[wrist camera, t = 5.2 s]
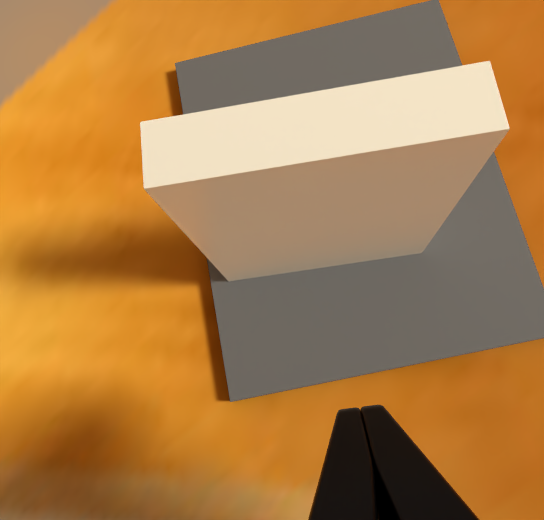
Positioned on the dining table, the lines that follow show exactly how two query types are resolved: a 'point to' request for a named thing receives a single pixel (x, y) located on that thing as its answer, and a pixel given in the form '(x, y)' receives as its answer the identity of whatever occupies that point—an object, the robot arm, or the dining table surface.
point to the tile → (325, 170)
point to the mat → (376, 273)
